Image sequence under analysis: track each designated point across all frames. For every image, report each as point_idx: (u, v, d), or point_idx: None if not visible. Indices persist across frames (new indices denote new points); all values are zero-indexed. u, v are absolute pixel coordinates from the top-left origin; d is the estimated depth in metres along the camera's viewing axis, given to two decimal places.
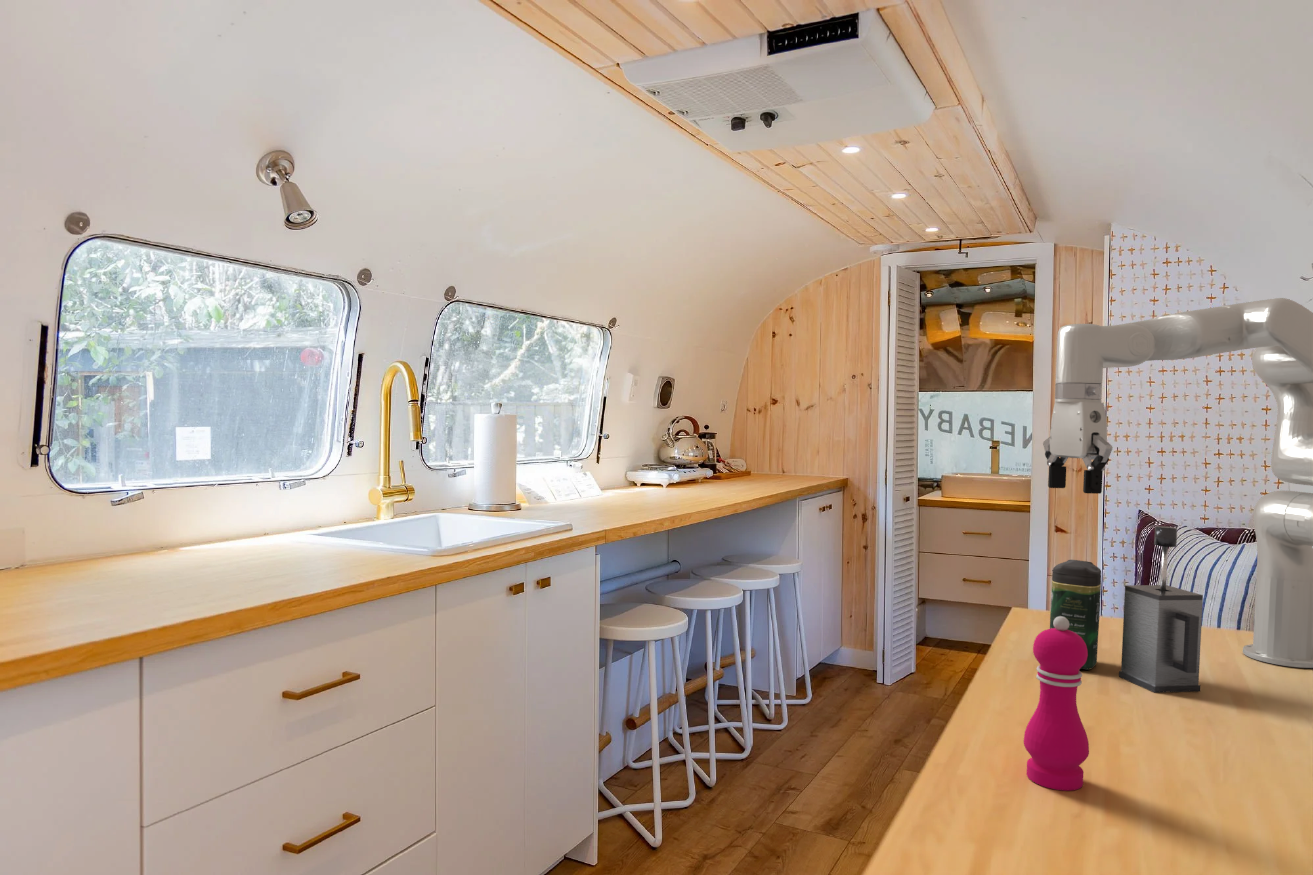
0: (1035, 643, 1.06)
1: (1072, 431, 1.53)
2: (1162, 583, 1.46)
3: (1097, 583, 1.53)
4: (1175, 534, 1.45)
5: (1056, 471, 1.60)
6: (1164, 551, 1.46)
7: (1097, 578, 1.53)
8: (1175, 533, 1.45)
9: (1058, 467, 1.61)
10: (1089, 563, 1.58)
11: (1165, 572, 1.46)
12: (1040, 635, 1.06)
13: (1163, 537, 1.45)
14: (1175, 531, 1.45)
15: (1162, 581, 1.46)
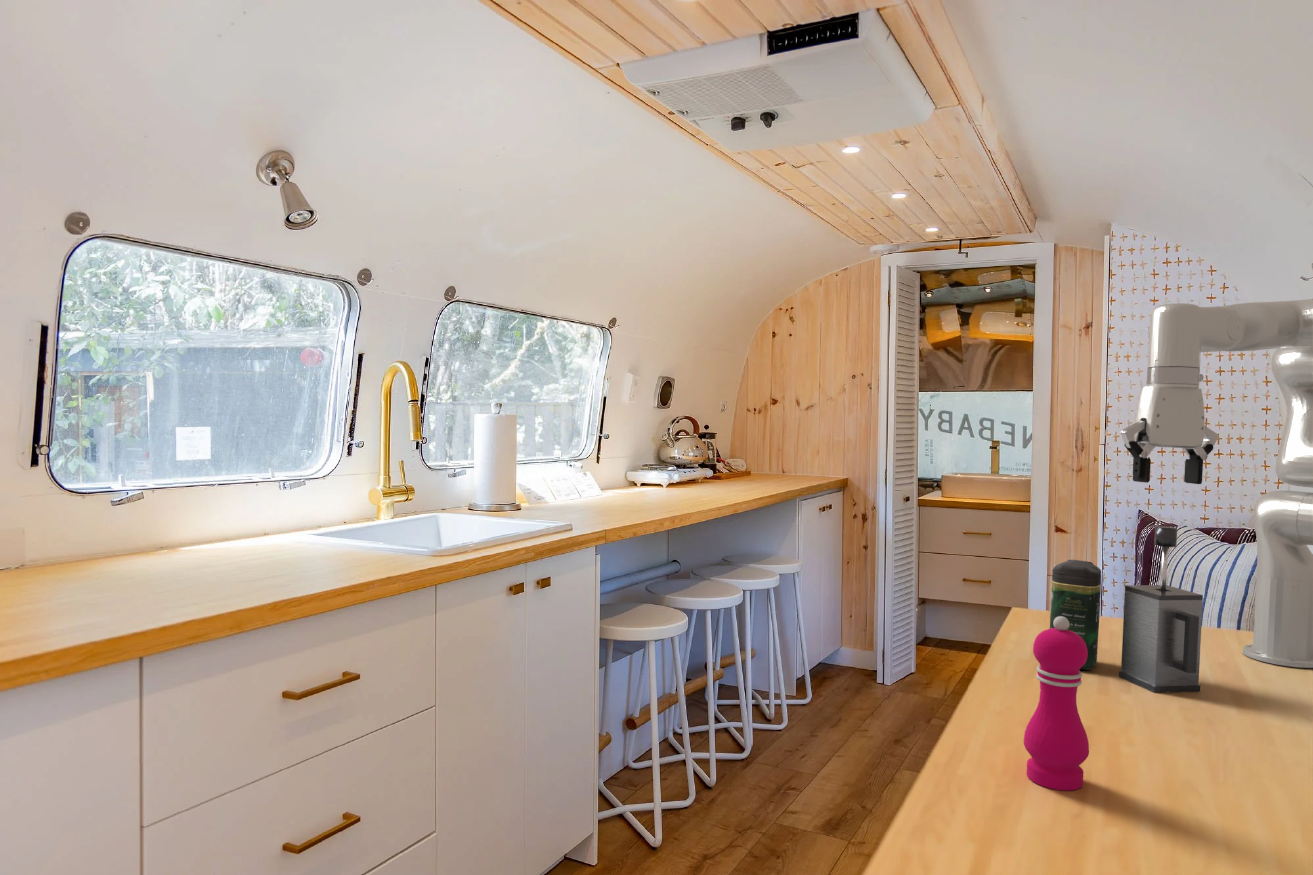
0: (1035, 643, 1.06)
1: (1193, 419, 1.43)
2: (1162, 583, 1.46)
3: (1097, 583, 1.53)
4: (1175, 534, 1.45)
5: None
6: (1164, 551, 1.46)
7: (1097, 578, 1.53)
8: (1175, 533, 1.45)
9: None
10: (1089, 563, 1.58)
11: (1165, 572, 1.46)
12: (1040, 635, 1.06)
13: (1163, 537, 1.45)
14: (1175, 531, 1.45)
15: (1162, 581, 1.46)
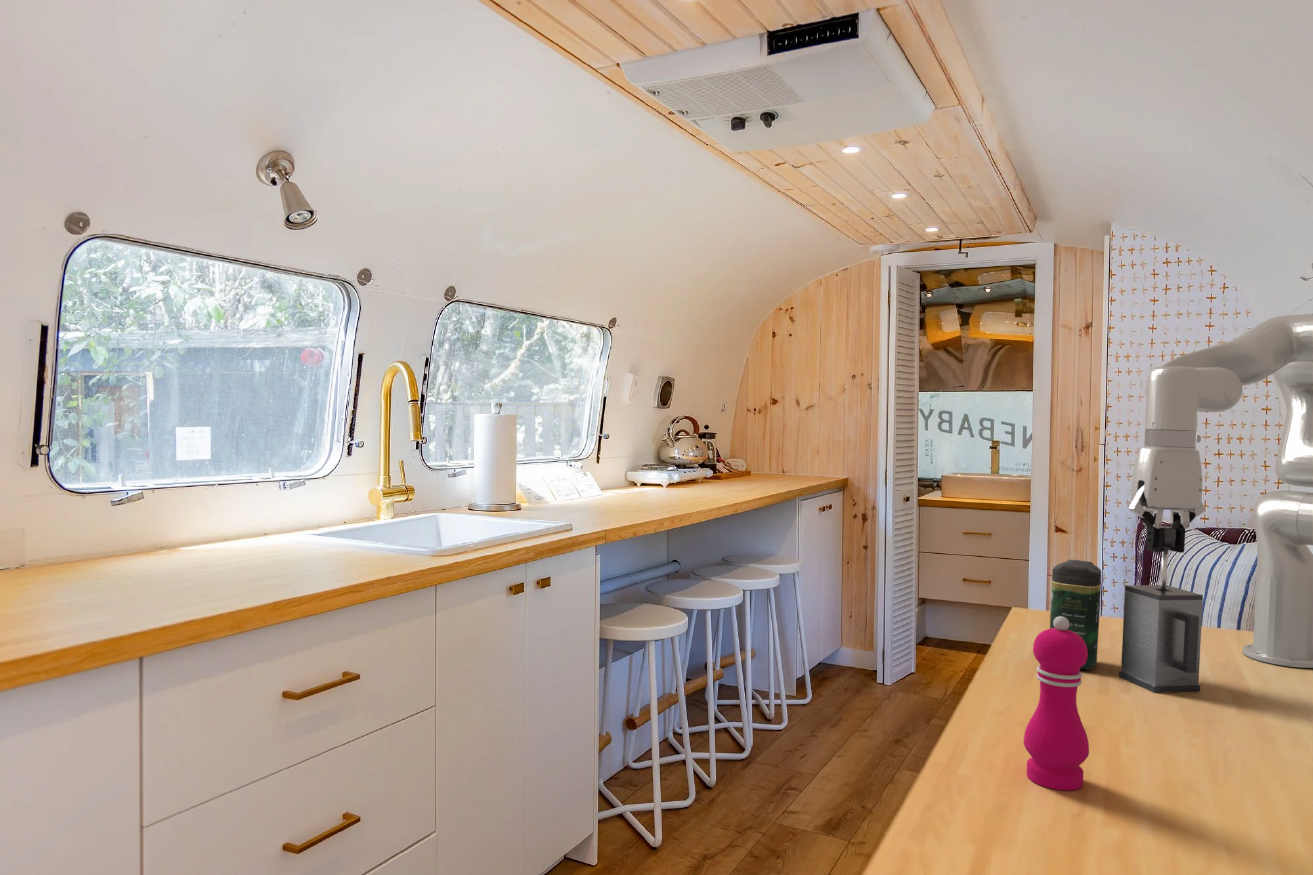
0: (1035, 643, 1.06)
1: (1191, 482, 1.44)
2: (1162, 583, 1.46)
3: (1097, 583, 1.53)
4: (1175, 534, 1.45)
5: None
6: (1164, 551, 1.46)
7: (1097, 578, 1.53)
8: (1175, 533, 1.45)
9: None
10: (1089, 563, 1.58)
11: (1165, 572, 1.46)
12: (1040, 635, 1.06)
13: None
14: (1175, 531, 1.45)
15: (1162, 581, 1.46)
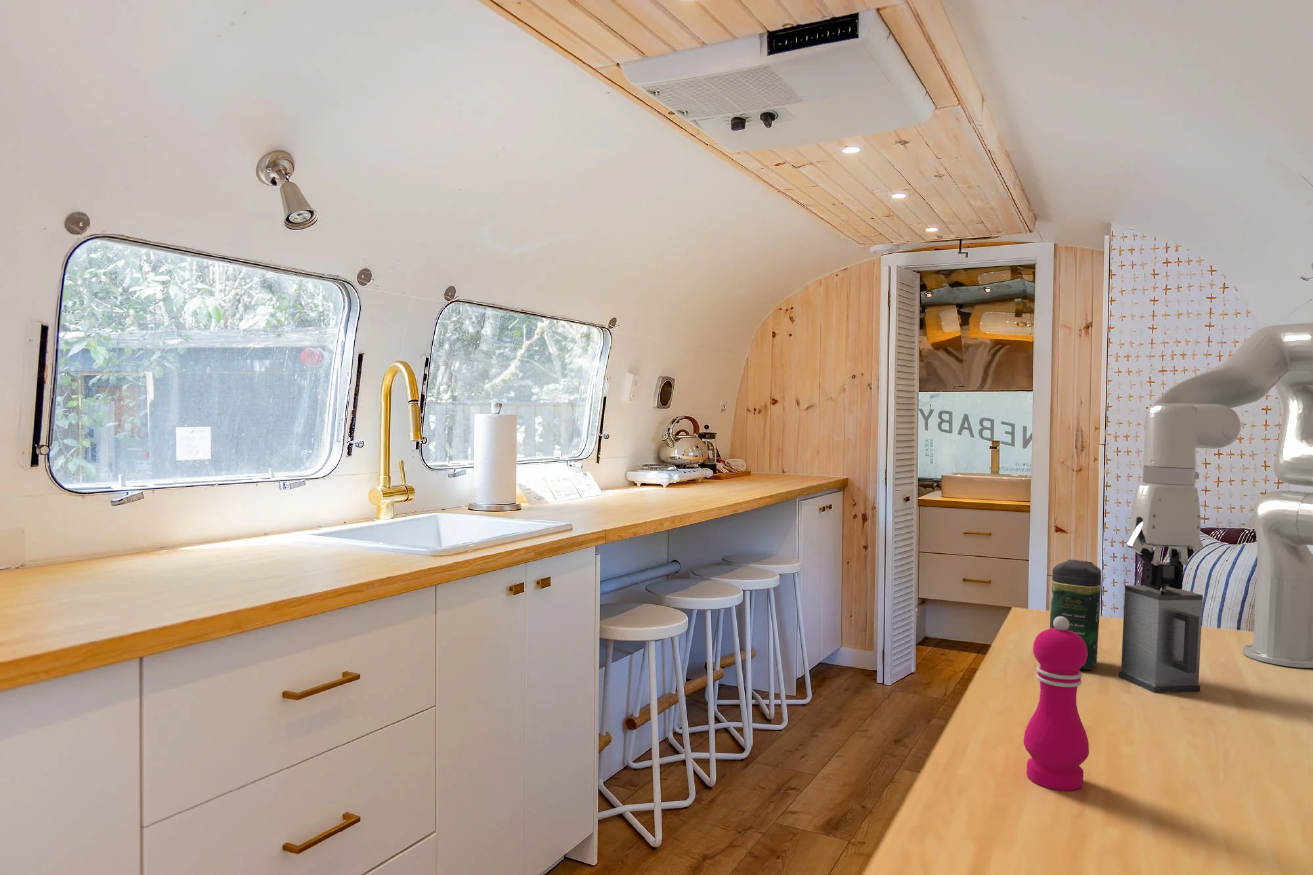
0: (1035, 643, 1.06)
1: (1189, 519, 1.44)
2: None
3: (1097, 583, 1.53)
4: (1173, 571, 1.45)
5: None
6: (1162, 588, 1.46)
7: (1097, 578, 1.53)
8: (1173, 570, 1.45)
9: None
10: (1089, 563, 1.58)
11: None
12: (1040, 635, 1.06)
13: None
14: (1173, 568, 1.45)
15: None
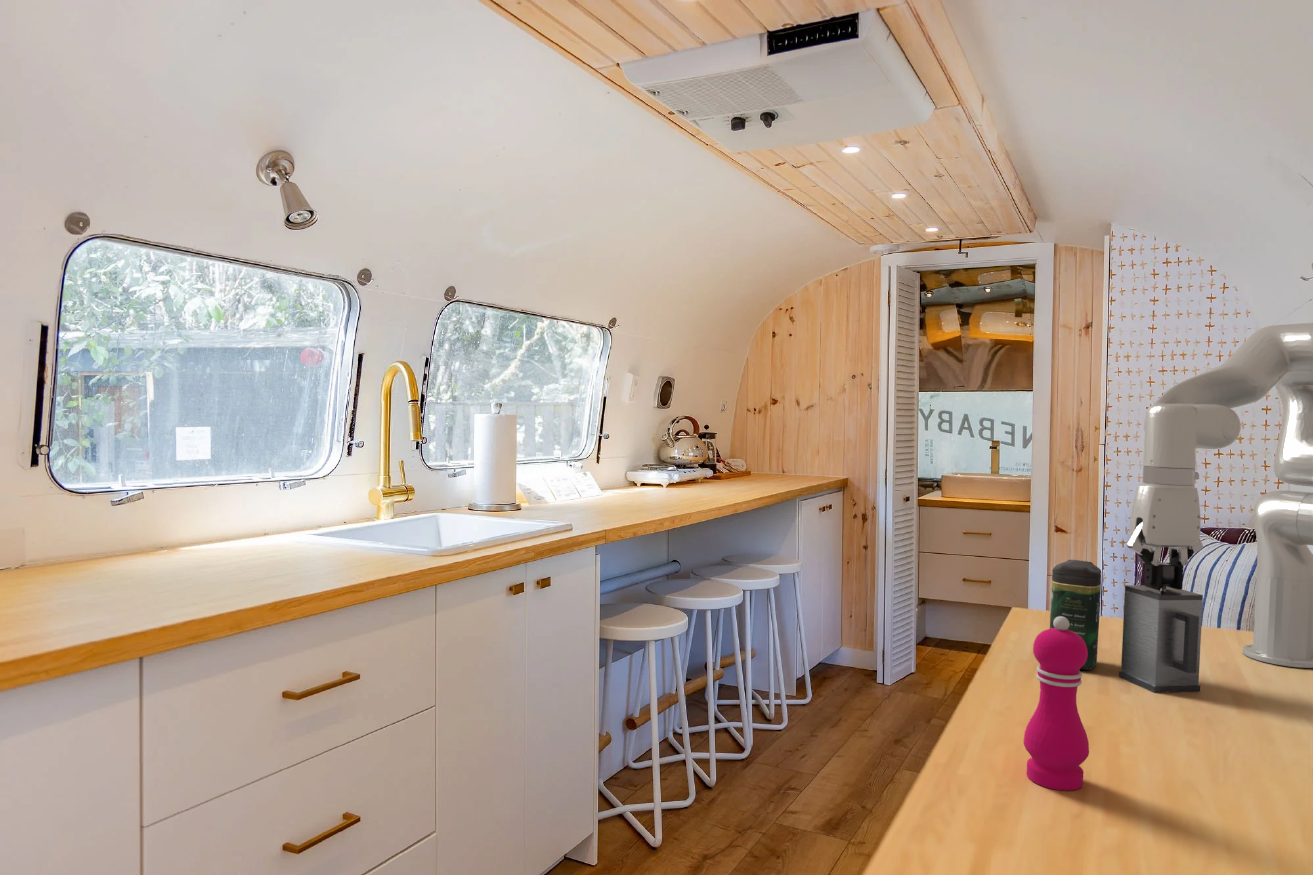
0: (1035, 643, 1.06)
1: (1189, 519, 1.44)
2: None
3: (1097, 583, 1.53)
4: (1173, 571, 1.45)
5: None
6: (1162, 588, 1.46)
7: (1097, 578, 1.53)
8: (1173, 570, 1.45)
9: None
10: (1089, 563, 1.58)
11: None
12: (1040, 635, 1.06)
13: None
14: (1173, 568, 1.45)
15: None
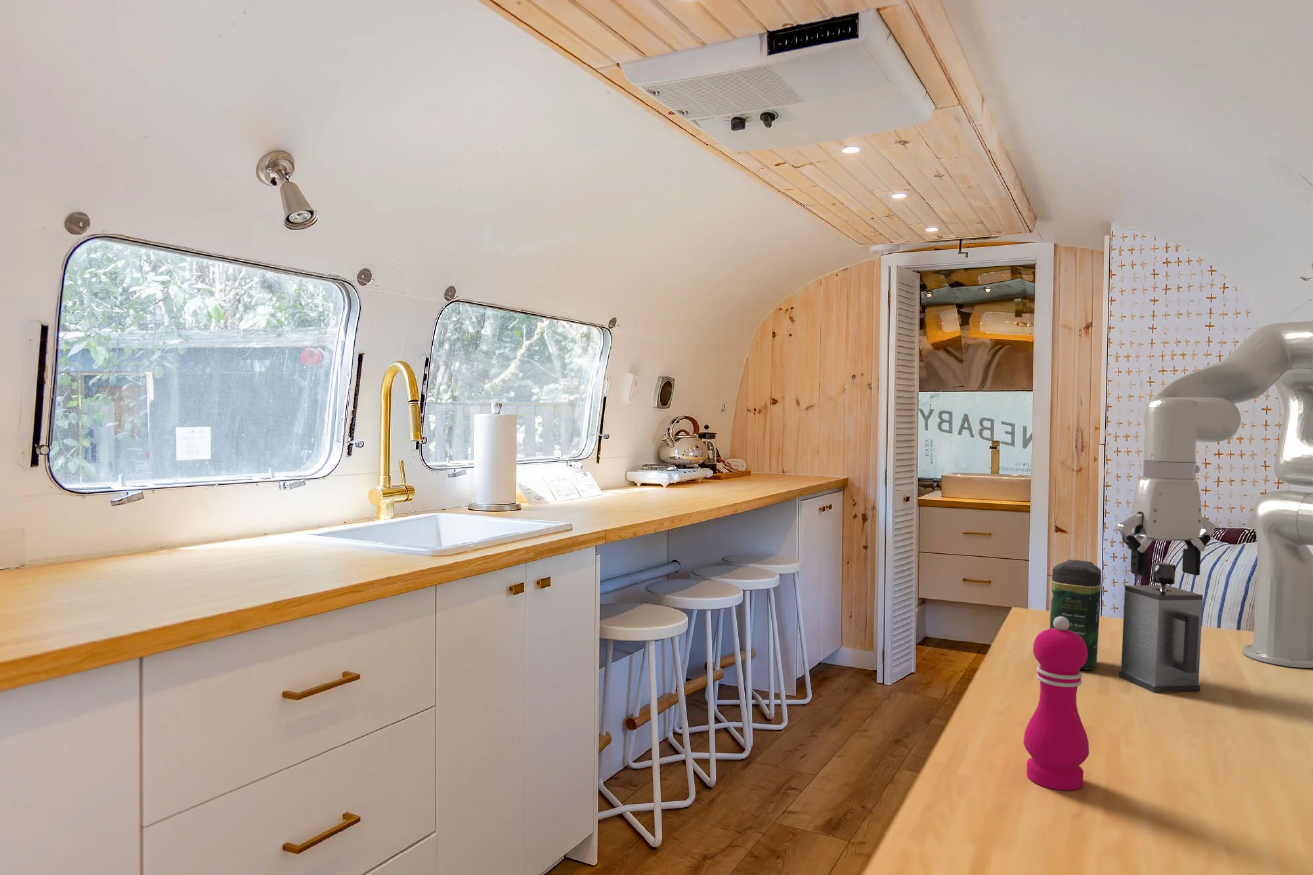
0: (1035, 643, 1.06)
1: (1190, 513, 1.44)
2: None
3: (1097, 583, 1.53)
4: (1173, 571, 1.45)
5: None
6: (1162, 588, 1.46)
7: (1097, 578, 1.53)
8: (1173, 570, 1.45)
9: None
10: (1089, 563, 1.58)
11: None
12: (1040, 635, 1.06)
13: (1161, 574, 1.45)
14: (1173, 568, 1.45)
15: None
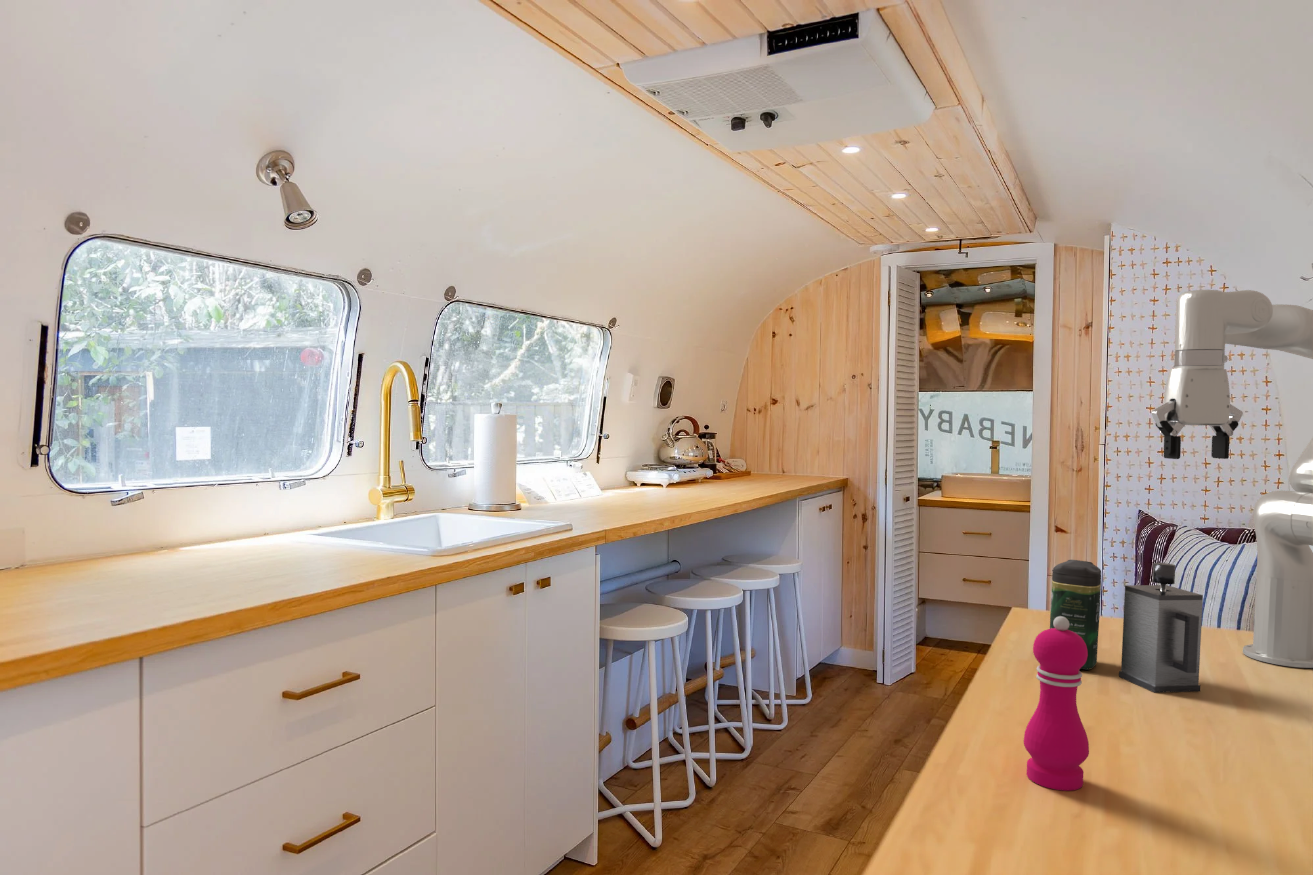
0: (1035, 643, 1.06)
1: (1219, 398, 1.53)
2: None
3: (1097, 583, 1.53)
4: (1173, 571, 1.45)
5: None
6: (1162, 588, 1.46)
7: (1097, 578, 1.53)
8: (1173, 570, 1.45)
9: None
10: (1089, 563, 1.58)
11: None
12: (1040, 635, 1.06)
13: (1161, 574, 1.45)
14: (1173, 568, 1.45)
15: None
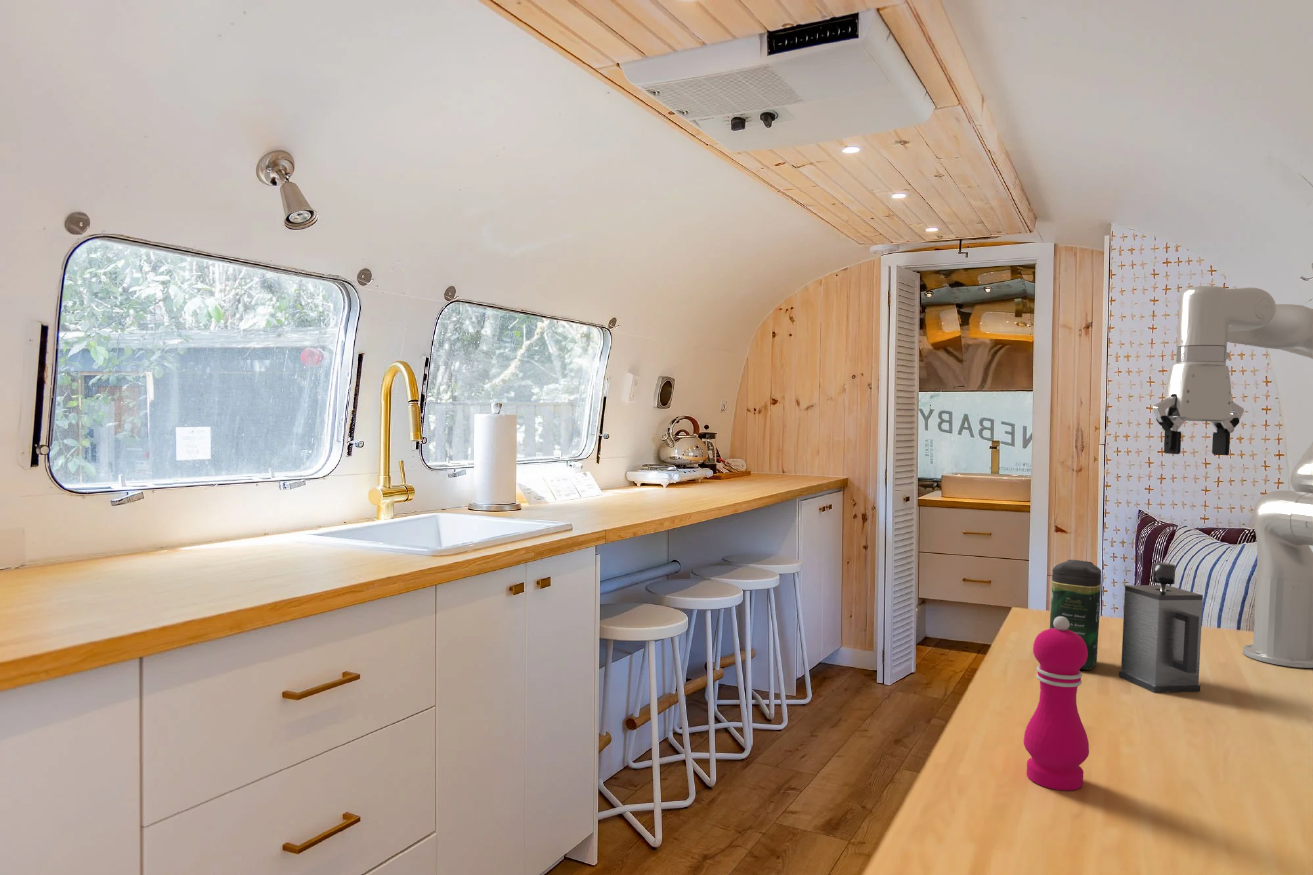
0: (1035, 643, 1.06)
1: (1220, 395, 1.53)
2: None
3: (1097, 583, 1.53)
4: (1173, 571, 1.45)
5: None
6: (1162, 588, 1.46)
7: (1097, 578, 1.53)
8: (1173, 570, 1.45)
9: None
10: (1089, 563, 1.58)
11: None
12: (1040, 635, 1.06)
13: (1161, 574, 1.45)
14: (1173, 568, 1.45)
15: None
